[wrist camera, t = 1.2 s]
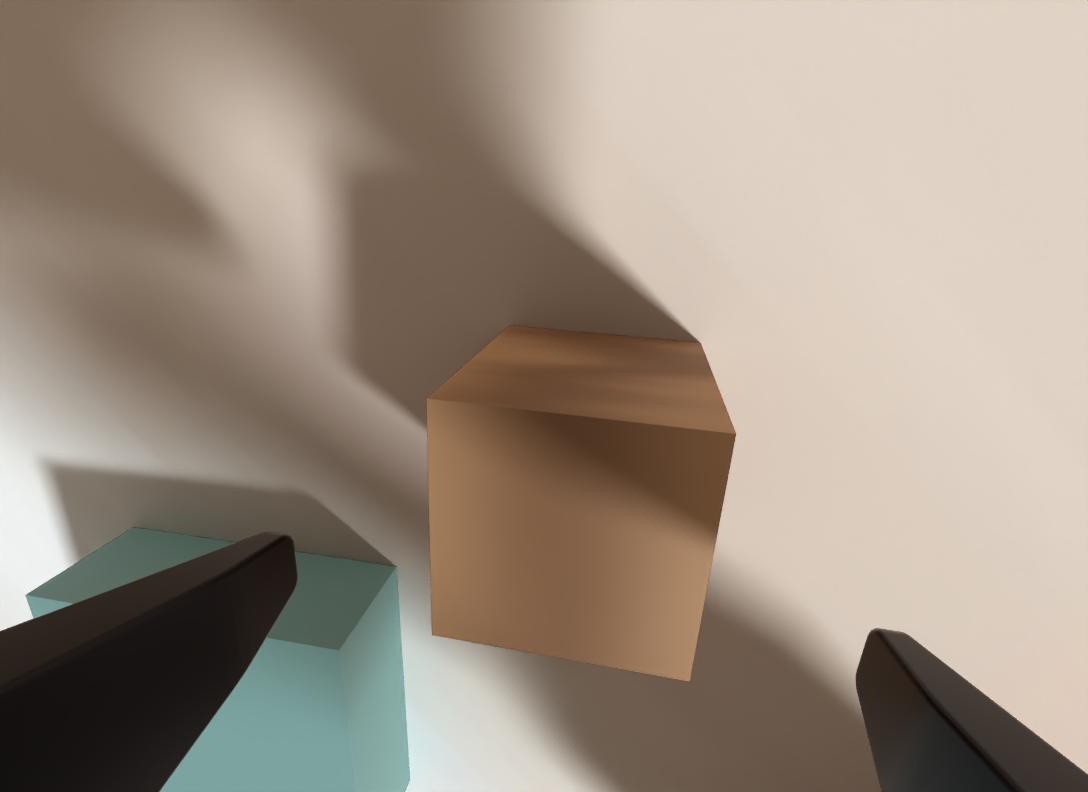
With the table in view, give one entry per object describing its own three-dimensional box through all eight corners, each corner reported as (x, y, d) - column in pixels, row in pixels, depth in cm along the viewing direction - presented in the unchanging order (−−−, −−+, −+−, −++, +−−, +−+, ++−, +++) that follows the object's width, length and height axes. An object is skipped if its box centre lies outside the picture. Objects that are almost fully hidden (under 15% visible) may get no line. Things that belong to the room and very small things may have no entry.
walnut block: (700, 342, 14) (735, 433, 8) (674, 511, 16) (689, 681, 10) (510, 324, 15) (426, 398, 9) (504, 488, 16) (432, 634, 11)
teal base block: (401, 559, 18) (339, 650, 15) (413, 770, 22) (365, 887, 18) (141, 522, 20) (25, 594, 16) (190, 724, 23) (104, 823, 20)
